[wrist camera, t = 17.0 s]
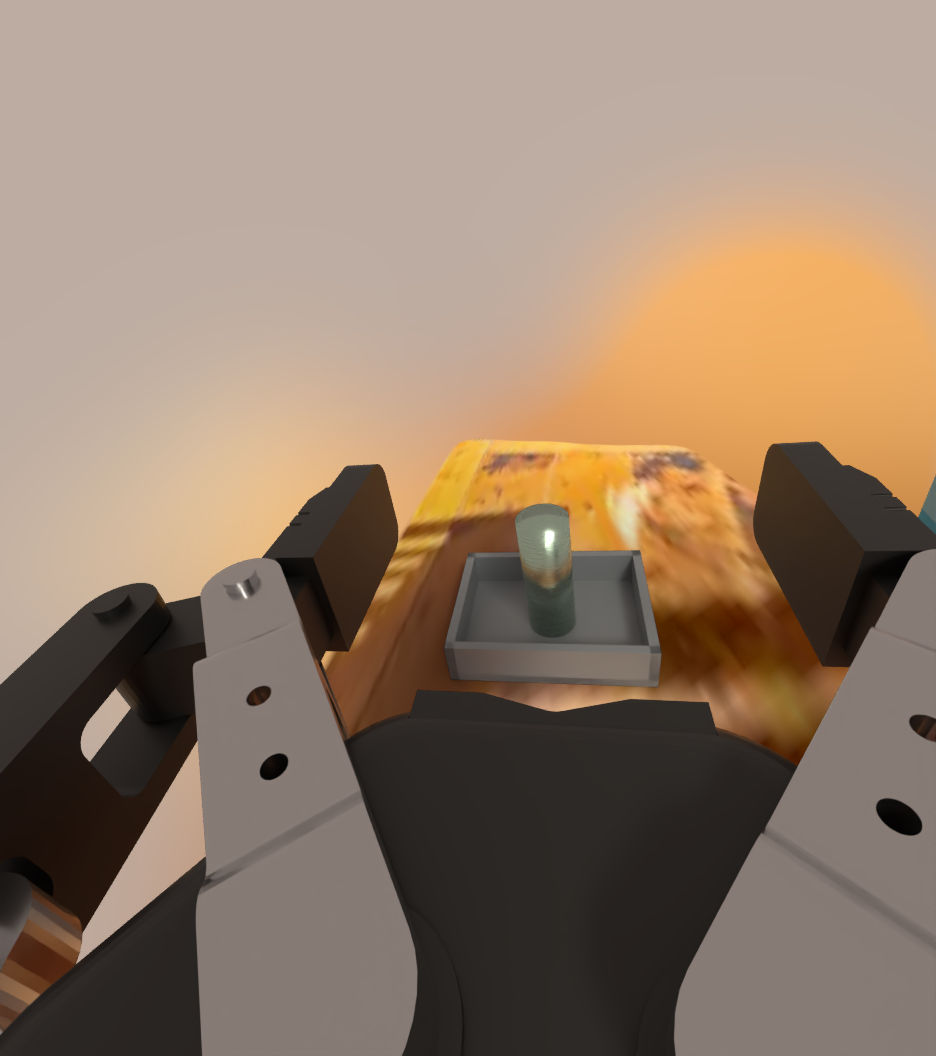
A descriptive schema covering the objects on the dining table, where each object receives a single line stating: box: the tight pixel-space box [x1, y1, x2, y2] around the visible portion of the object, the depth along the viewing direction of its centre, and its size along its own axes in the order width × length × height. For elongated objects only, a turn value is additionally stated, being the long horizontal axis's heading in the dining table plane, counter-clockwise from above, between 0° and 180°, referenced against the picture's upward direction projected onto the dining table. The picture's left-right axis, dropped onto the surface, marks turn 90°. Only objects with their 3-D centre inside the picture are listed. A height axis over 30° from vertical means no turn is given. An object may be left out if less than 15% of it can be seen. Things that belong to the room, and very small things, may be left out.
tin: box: [515, 504, 576, 638], centre depth 45 cm, size 4×4×12 cm
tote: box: [444, 550, 661, 687], centre depth 48 cm, size 18×14×4 cm
